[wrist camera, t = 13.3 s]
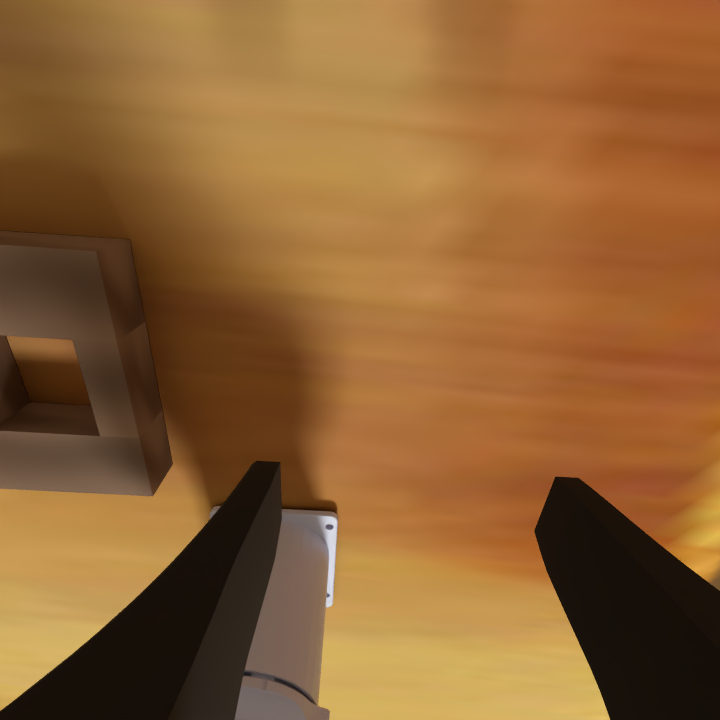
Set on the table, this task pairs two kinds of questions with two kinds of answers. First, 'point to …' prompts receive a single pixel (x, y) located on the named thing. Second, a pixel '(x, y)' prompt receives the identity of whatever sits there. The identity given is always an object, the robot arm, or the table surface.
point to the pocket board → (97, 362)
